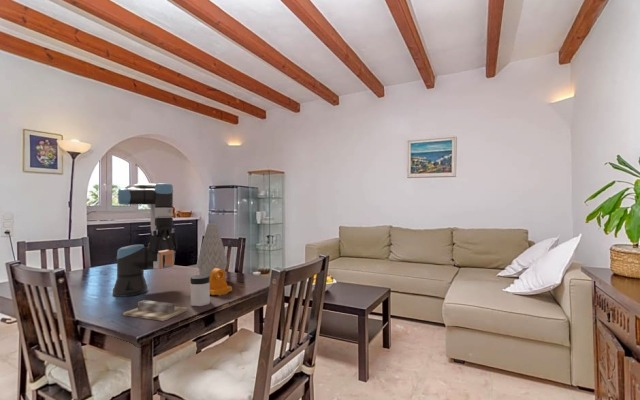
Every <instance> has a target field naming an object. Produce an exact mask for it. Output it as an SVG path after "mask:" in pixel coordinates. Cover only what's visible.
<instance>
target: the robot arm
mask: <svg viewBox="0 0 640 400" xmlns="http://www.w3.org/2000/svg"><path fill="white" fill-rule="evenodd" d="M173 188H174V187H173V184H171V183H135V184H130V185H128V186H125V187H124V188H119V189H118V190H117V203H118V204H119V205H124V206H128V205H130V206H131V205H133V206H134V205H147V207H148V208H149V212H150V215H149V216H150V231H149V233H150V237H149V238H150V239H149V243H148V245H147V246H145V245H144V244H143V243H142V244H131V245H127V246H122V247H120V248H118V249H117V253H116V280H115V283H114V286H113V288H112V296H116V297H131V296H136V295H138V296H139V295H140V294H144V293H146V292H148V284H147V281H146V278H145V276H144V275H145V273H144V271H148V270H150V271H151V270H161V269H160V254H158V252H159V251H162V250H174V261H175V258H176V252H177V250H178V249H179V246H178V236H177V231H178V230H177V228H172V226H173V225H174V218H173V216H174V215H173V212H174V210H173V209H174V207H173V205H174V203H173V202H174V198H173V197H174V194H173V193H174V189H173ZM172 267H173V266H165V255H163V269H164V270H165V269H169V268H170V269H171V268H172Z"/></svg>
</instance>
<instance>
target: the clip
mask: <svg viewBox="0 0 640 400" xmlns="http://www.w3.org/2000/svg"><path fill="white" fill-rule="evenodd" d="M158 254H160V269H159V270H162V269H164V268H163V255H165V266H172V267H174V265H175V260H174V250H162V251H159V252H158Z"/></svg>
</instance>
